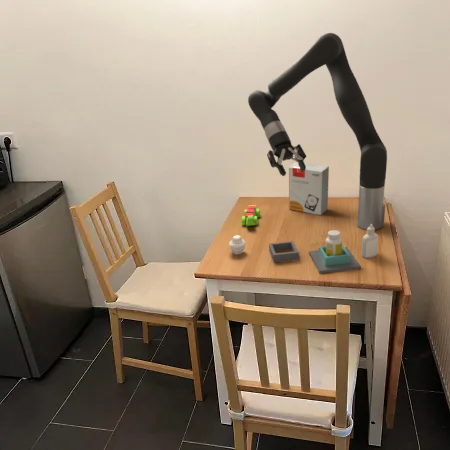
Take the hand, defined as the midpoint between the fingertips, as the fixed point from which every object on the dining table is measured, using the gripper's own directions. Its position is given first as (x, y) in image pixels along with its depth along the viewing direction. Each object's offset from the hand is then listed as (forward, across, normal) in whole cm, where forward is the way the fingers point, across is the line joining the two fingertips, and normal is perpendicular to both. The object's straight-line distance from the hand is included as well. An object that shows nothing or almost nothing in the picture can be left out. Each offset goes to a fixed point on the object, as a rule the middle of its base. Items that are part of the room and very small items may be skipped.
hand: (294, 172), depth 164 cm
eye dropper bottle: (+38, +12, -1) cm, 40 cm away
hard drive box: (+6, +19, +31) cm, 37 cm away
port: (+35, 0, +1) cm, 35 cm away
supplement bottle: (+34, 0, +1) cm, 35 cm away
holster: (+26, -12, +11) cm, 31 cm away
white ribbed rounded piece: (+18, -25, +19) cm, 36 cm away
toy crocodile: (+3, -7, +35) cm, 36 cm away
